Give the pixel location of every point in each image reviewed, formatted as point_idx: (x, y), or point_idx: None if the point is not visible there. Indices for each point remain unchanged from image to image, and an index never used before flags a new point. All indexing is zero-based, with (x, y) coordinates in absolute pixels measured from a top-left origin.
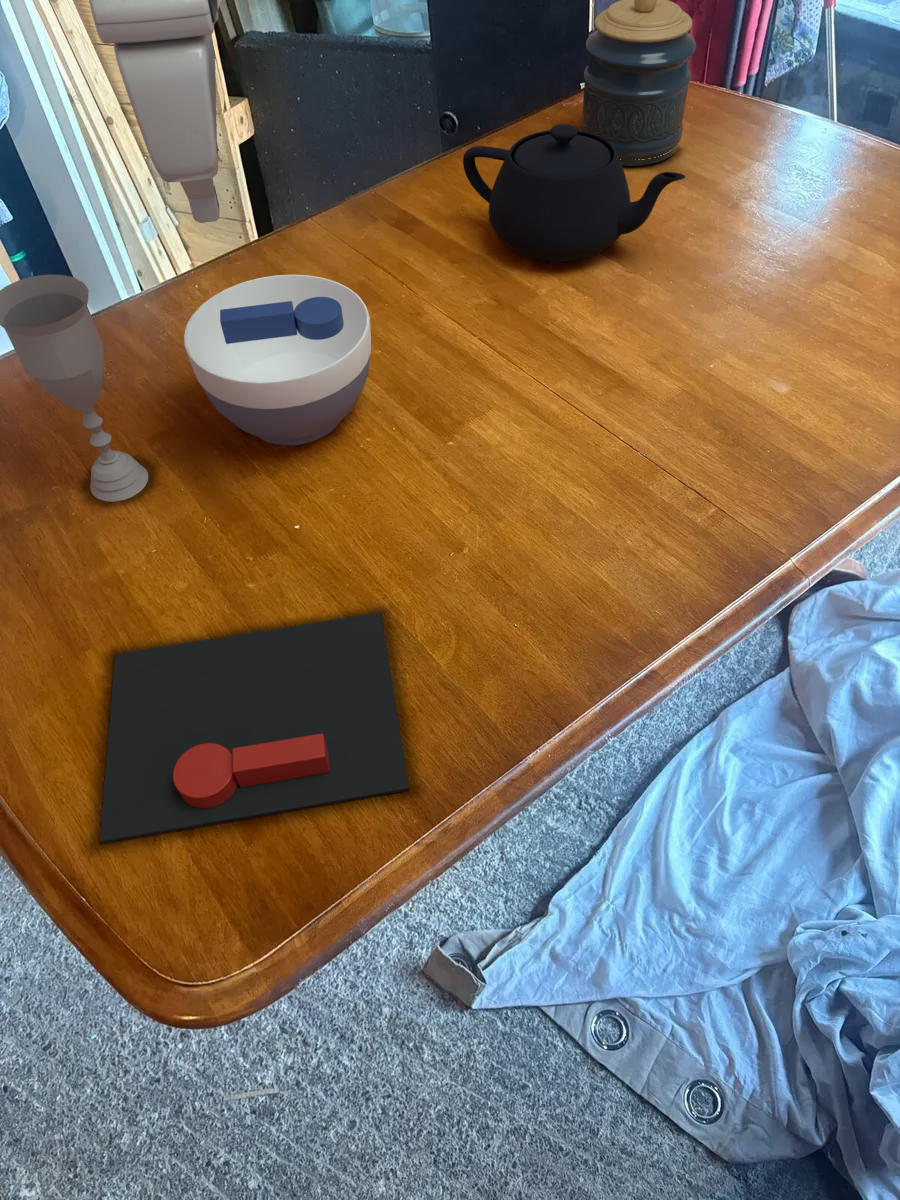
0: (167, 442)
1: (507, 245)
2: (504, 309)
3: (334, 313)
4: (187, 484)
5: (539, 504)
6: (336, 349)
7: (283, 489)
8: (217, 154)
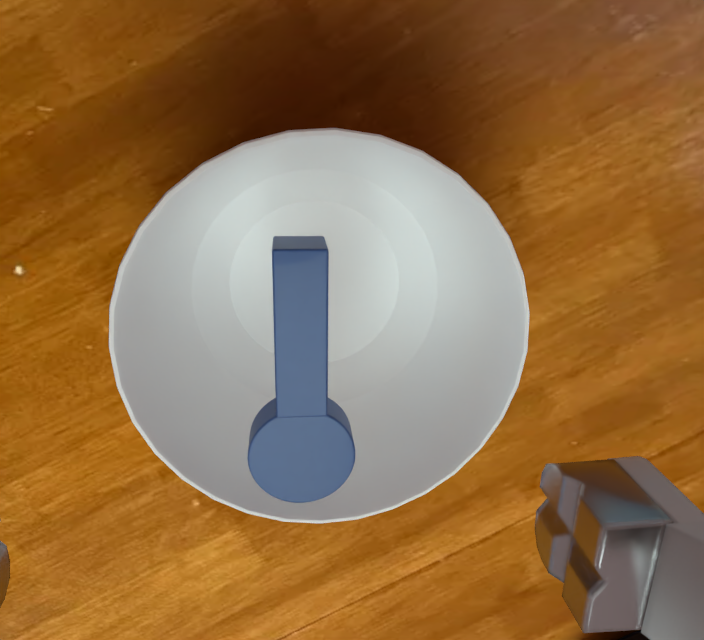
0: (279, 32)
1: (637, 636)
2: (499, 600)
3: (279, 490)
4: (148, 74)
5: (49, 595)
6: (404, 386)
7: (115, 251)
8: (543, 556)
